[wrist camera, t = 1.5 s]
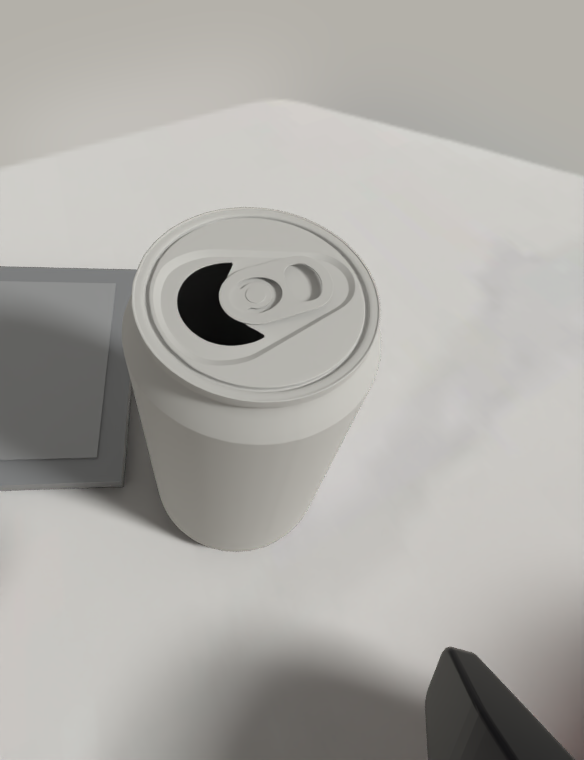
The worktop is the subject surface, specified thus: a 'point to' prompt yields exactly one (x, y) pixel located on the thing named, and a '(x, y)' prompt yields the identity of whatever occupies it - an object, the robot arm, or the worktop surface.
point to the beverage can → (248, 367)
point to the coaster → (63, 377)
